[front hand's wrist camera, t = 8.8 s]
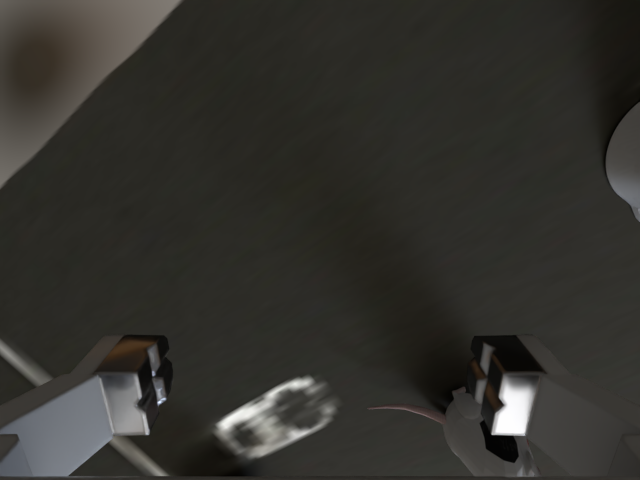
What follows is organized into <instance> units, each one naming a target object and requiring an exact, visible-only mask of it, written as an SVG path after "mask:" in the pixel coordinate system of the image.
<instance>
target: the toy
mask: <svg viewBox="0 0 640 480" xmlns="http://www.w3.org/2000/svg"><path fill="white" fill-rule="evenodd" d="M465 392H466V389H465V387H461V388H459V389H458V390H454V391H452V394H453V397H454V400H453V401H452V402H451V403H450V405H449V406H448V407H447V410H446V413H445V415H444V414H441V413H439V412H436V411H433V410H430V409H427V408H424V407H419V406H414V405H409V404H386V405H381V406H375V407H370V408H368V409H377V408H394V409H405V410H409V411H412V412H415V413H418V414H421V415H424V416H427V417H429V418H431V419H433V420H435V421H438V422H440V423H442V426H443V429H444V434H445V438H446V441H447V443H448V445H449V447H450V448H451V450H452V451H453V452H454V453H455V454H456V455H457V456H459V458H460V459H461V460H462V461H463V463H464V464H465V465H466V466H467V468H468V469H469V470H470V471H471V472H472V474H473V475H474V476H534V474H535V476H541V473H540V470H539V468H538V467H537V466H536V465H535V463H534V459H533V457H532V454H531V451H530V448H529V444H528V441H527V439H526V436H516V435H491V433H490V431H489V429H488V427H487V425H486V423H485V421H484V419H483V417H482V415H481V408H482V405H480V404H479V403H477V402H476V401H475V400H474V399H473V397H472V395H471V394H468V393H465Z"/></svg>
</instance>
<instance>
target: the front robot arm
mask: <svg viewBox="0 0 640 480" xmlns="http://www.w3.org/2000/svg"><path fill="white" fill-rule="evenodd" d="M606 173H607V177H608V180H609V183H610V185H611V186H612V188H613V189H614V191H615V192H616V193H617V194H618V195H619V196H620V197H621V198H623V199H624V200H625V201H627V202H628V203H629V204H630V205H631V208H632V210H633V213H634V215H635V217H636V219H637V220H638V221H639V222H640V102H639V103H638V104H636V105H635V106H634V107H633V108H632V109H631V110H630V111H629V112H628V113H627V114H626V115H625V116H624V118H623V119H622V120H621V122H620V123H619V125H618V126H617V128H616V130H615V131H614V133H613V135H612V138H611V140H610V143H609V146H608V149H607V154H606ZM168 351H169V344H168V340H167V338H166V337H165V336H164V335H106V336H103V337H102V339H101V340H100V341H99V342H98V343H97V344H96V345H95V346H94V348H93V349H92V350H91V351H90V352H89V353H88V354H87V355H86V356H85V358H84V359H83V360H82V361H81V362H80V363H79V364H78V365H77V366H76V368H75V369H74V370H73V371H72V372H71V373H70V374H63V375H61V376H59V377H57V378H55V379H53V380H51V381H49V382H47V383H45V384H43V385H41V386H39V387H37V388H35V389H33V390H31V391H29V392H27V393H25V394H23V395H21V396H19V397H17V398H15V399H13V400H11V401H9V402H7V403H5V404H3V405H1V406H0V480H640V406H639V405H637V404H635V403H633V402H631V401H629V400H627V399H625V398H623V397H621V396H619V395H617V394H615V393H613V392H611V391H609V390H607V389H605V388H603V387H601V386H599V385H597V384H595V383H593V382H591V381H589V380H587V379H585V378H583V377H581V376H579V375H577V374H570V373H569V372H568V371H567V370H566V369H565V368H564V366H563V365H562V364H561V363H560V362H559V361H558V360H557V359H556V358H555V356H554V355H553V354H552V353H551V352H550V351H549V350H548V349H547V348H546V346H545V345H544V344H543V343H542V342H541V341H540V340H539V339H538V337H536V336H534V335H532V334H525V335H501V336H474V338H473V340H472V344H471V351H472V353H473V354H474V356H475V357H474V358H473V359H472V360H471V361H470V362H469V363H468V369H467V381H468V387H469V390H470V393H471V395H472V397H473V399H474V400H475V401H476V402H477V403H479V404H480V405H482V408H481V415H482V417H483V419H484V421H485V423H486V425H487V427H488V429H489V431H490V433H491V435H516V436H527V438H528V439H529V440H530V441H531V442H533V443H534V444H535V445H536V446H537V447H539V448H540V449H541V450H542V451H543V452H545V453H546V454H547V455H548V456H549V457H550V458H552V459H553V460H554V461H555V462H556V463H558V464H559V465H560V466H561V467H562V468H564V469H565V470H566V471H567V472H568V473H570V474H571V475H572V476H68V475H69V474H71V473H72V472H73V471H74V470H75V469H77V468H78V467H79V466H80V465H81V464H82V463H84V462H85V461H86V460H87V459H88V458H90V457H91V456H92V455H93V454H94V453H96V452H97V451H98V450H99V449H100V448H102V447H103V446H104V445H105V444H106V443H108V442H109V441H110V440H111V439H112V438H113V436H123V435H149V433H150V431H151V429H152V427H153V425H154V423H155V421H156V419H157V417H158V415H159V408H158V405H160V404H161V403H163V402H164V401H165V400H166V399H167V397H168V395H169V393H170V390H171V386H172V381H173V368H172V363H171V362H170V361H169V360H168V359H167V358H166V357H165V356H166V354H167V353H168Z"/></svg>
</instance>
